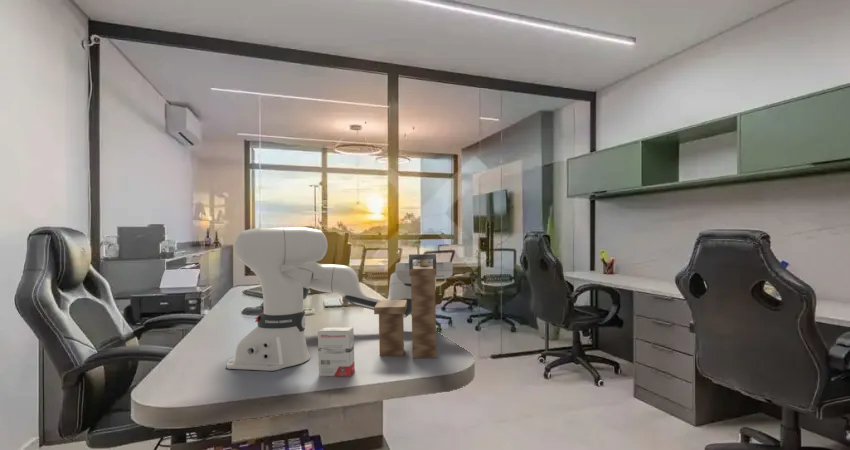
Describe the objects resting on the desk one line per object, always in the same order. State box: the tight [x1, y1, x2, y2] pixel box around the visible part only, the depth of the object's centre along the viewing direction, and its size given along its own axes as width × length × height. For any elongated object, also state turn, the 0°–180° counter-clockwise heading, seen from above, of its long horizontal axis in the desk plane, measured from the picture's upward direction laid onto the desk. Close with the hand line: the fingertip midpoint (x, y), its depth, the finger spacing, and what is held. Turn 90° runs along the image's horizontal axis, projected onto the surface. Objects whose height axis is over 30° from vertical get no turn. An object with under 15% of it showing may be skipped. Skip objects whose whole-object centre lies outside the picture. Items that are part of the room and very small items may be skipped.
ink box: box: [317, 326, 356, 377], centre depth 109 cm, size 9×5×12 cm, turn 84°
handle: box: [420, 259, 428, 266], centre depth 137 cm, size 2×15×2 cm, turn 0°
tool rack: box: [373, 253, 437, 359], centre depth 127 cm, size 18×13×30 cm
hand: (423, 260), depth 141 cm, fingers closed on handle, 2 cm apart
